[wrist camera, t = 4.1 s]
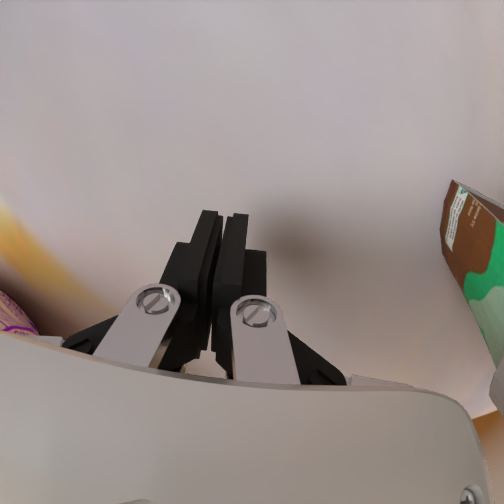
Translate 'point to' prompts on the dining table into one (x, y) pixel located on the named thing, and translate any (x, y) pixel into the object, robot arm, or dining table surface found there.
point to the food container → (478, 267)
